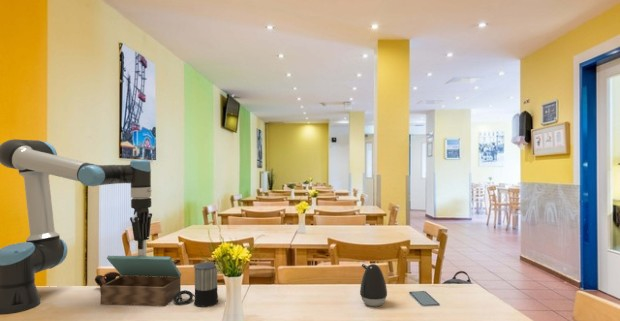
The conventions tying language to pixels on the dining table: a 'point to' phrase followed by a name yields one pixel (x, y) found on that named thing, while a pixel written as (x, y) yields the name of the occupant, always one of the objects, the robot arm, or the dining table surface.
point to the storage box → (140, 290)
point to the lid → (144, 266)
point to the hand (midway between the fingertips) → (142, 256)
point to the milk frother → (202, 286)
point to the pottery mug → (109, 277)
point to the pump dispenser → (373, 286)
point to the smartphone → (424, 298)
